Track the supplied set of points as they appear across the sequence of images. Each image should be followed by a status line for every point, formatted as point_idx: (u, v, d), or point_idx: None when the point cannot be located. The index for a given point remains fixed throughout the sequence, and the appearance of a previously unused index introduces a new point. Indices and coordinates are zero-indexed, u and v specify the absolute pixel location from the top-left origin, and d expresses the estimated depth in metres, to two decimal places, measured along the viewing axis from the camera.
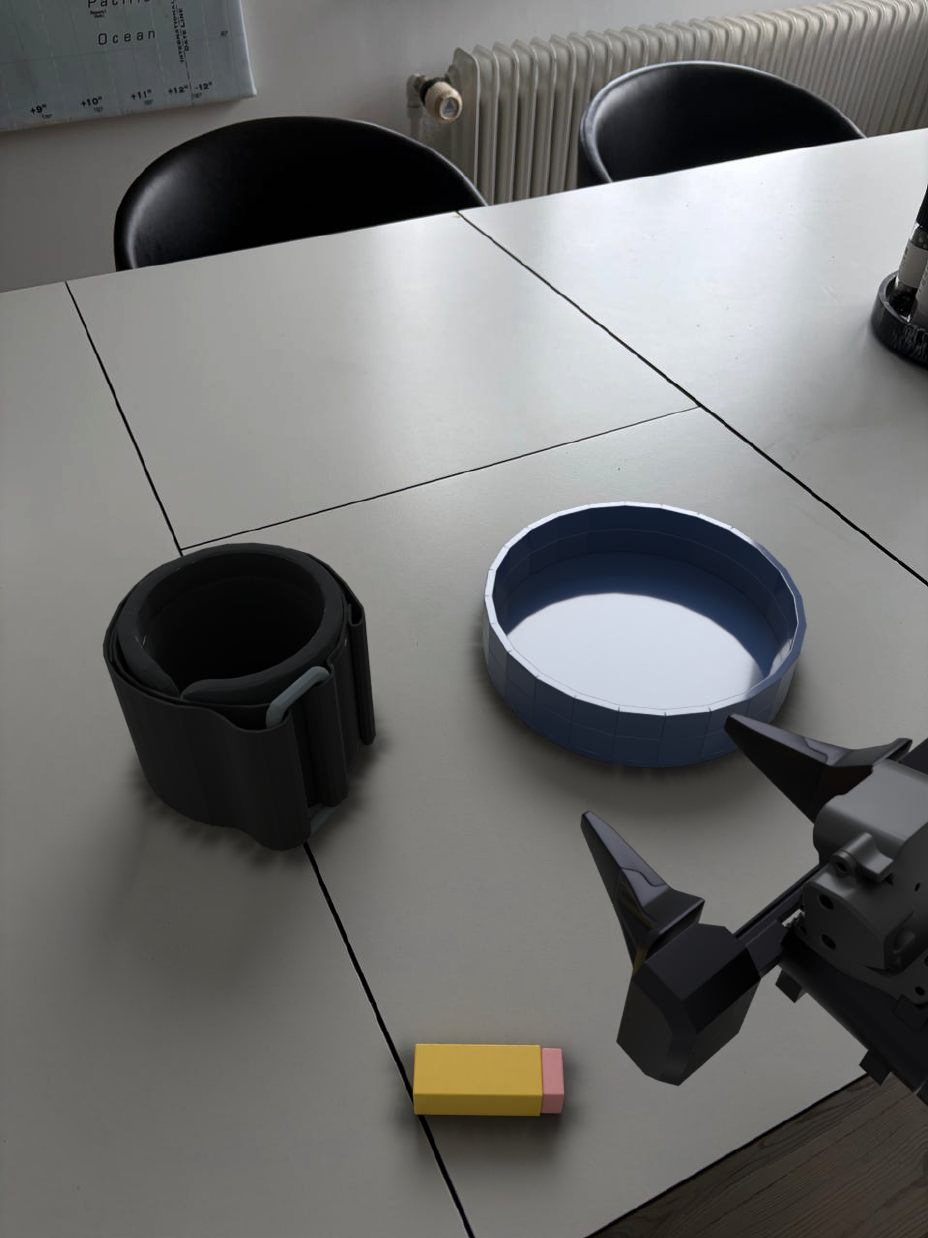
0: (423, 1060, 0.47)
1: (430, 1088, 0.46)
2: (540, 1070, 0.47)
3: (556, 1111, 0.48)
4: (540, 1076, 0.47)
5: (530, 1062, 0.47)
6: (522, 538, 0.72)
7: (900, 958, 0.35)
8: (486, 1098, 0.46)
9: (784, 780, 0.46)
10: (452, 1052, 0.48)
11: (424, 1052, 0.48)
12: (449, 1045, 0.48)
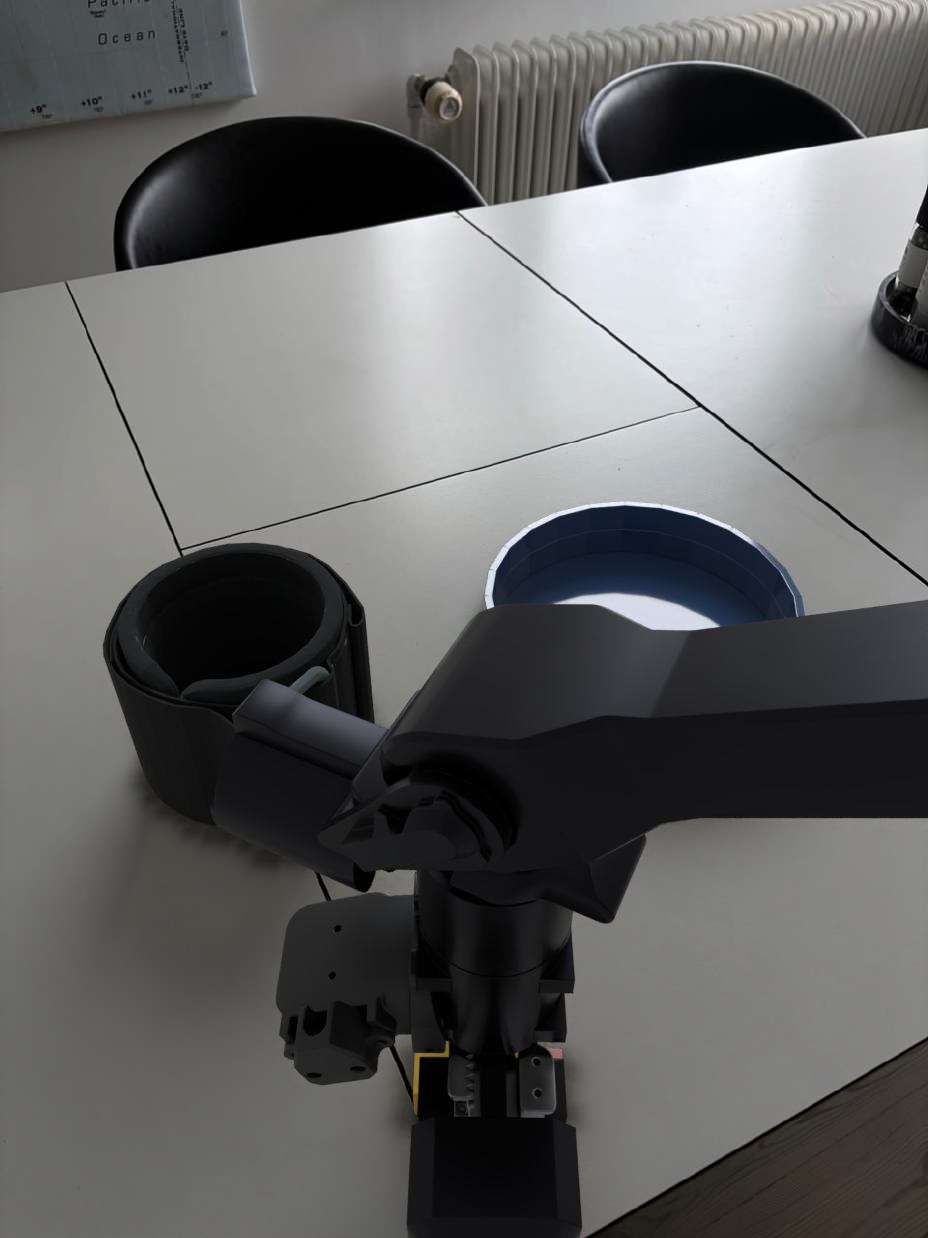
0: None
1: None
2: None
3: None
4: None
5: None
6: (522, 538, 0.72)
7: (391, 990, 0.38)
8: None
9: None
10: None
11: None
12: None
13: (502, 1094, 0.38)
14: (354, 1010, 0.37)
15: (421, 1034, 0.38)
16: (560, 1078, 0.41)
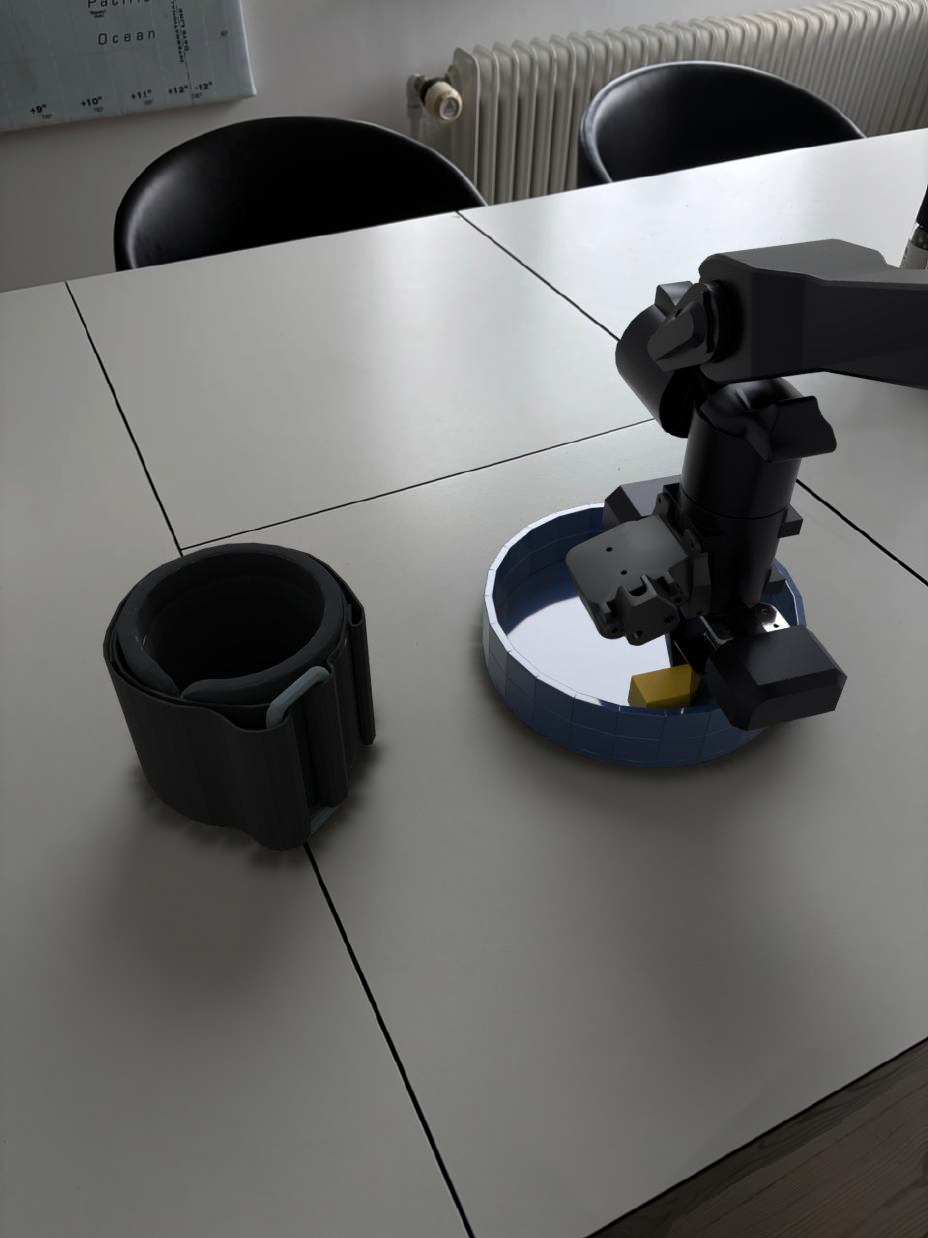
0: (643, 683, 0.62)
1: (656, 696, 0.61)
2: None
3: None
4: None
5: None
6: (522, 538, 0.72)
7: (676, 563, 0.52)
8: None
9: (702, 630, 0.62)
10: (660, 674, 0.62)
11: (640, 678, 0.62)
12: (656, 670, 0.63)
13: (759, 625, 0.53)
14: (656, 581, 0.52)
15: (698, 594, 0.53)
16: None
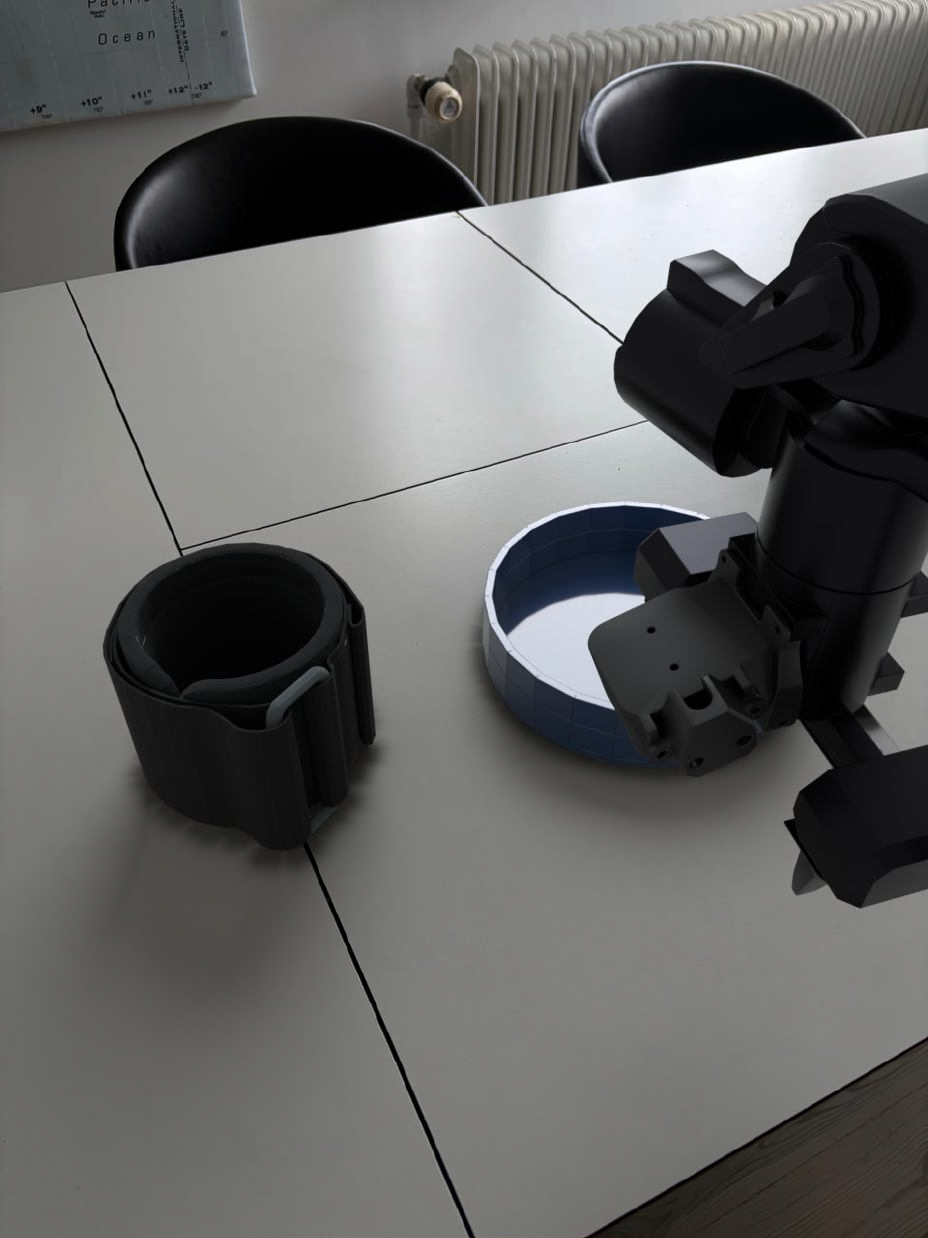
0: None
1: None
2: None
3: None
4: None
5: None
6: (522, 538, 0.72)
7: (752, 655, 0.35)
8: None
9: None
10: None
11: None
12: None
13: (870, 742, 0.37)
14: (723, 683, 0.35)
15: (783, 699, 0.36)
16: None
